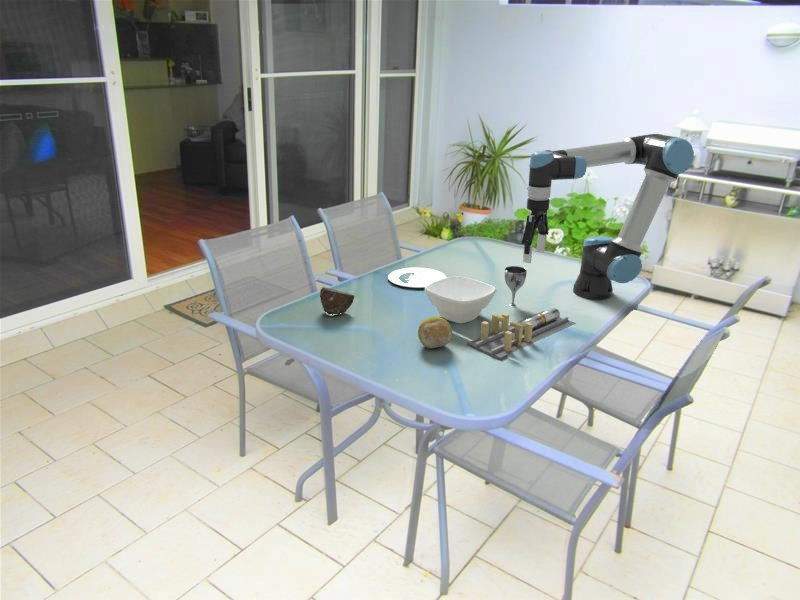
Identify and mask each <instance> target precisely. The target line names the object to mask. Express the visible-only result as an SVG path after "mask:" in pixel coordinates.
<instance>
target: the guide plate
mask: <svg viewBox="0 0 800 600" xmlns="http://www.w3.org/2000/svg"><path fill="white" fill-rule="evenodd" d="M544 312H545V311H544V310H543V311H540V312H538V313H535V314H533V315H531V316H528V317H526V318H523V319H521V320H519V321H516V322H517V323H520V322H522V321H524V320H527V319H529V318H532V317H534V316H536V315H539V314H541V313H544ZM501 316H502V317H505V320H504V321H503V322H500V323H501V324H500V328H499V329H498V334H495V335H493V336H491V332H489V326H490V322H488V321H486V320H485V321H482V322H481V325H480V337H477V338H475V339H473V340H470V341H468V342H467V343H466V344H467V346H469V347H471V348H473V349H475V350H478V351H480V352H482V353H484V354H486V355H488V356H490V357H493V358H495V359H497V360H499V361H502V360H504V359H506V358H509V357H510V354H512V353H514V352H517V351H519V350H521V349H523V348H525V347H528V346H530V345H532V344H534V343H536V342H539V341H540V340H542V339H545V338H548V337H550V336H552V335H553V334H555V333H558V332H560V331H562V330H565V329H566V328H568V327H571V326H572V325H575V324H576V322H574V321H571V320H569V316H565V317H563V318H562V317H559V318H558V319H556V320H554V321H552V322H549V323H547V324H545V325H543V326H540V327H538V328H536V329H533V330H532V328H533V324H532V323H529V322H528V323H525V333H522V343H521V346H519V347H517V346H515V345H514V337H515V327H512V326H510V322H509V321H510V314H509V313H506V312H504V313H502V314H501Z"/></svg>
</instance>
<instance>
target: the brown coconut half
mask: <svg viewBox="0 0 800 600" xmlns="http://www.w3.org/2000/svg"><path fill="white" fill-rule="evenodd" d="M319 298H320V303H321V306H322V308H323V311H325V312H327V313H328V314H332V315H333V314H340V313H342V314H344V313H346V312H347V311H348V309H349V308H350V307H351V306H352V305H353V303H354V299H355V295H354V294H352V293H349V292H347V291H345V292H343V291H341V290H338V289H337V290H336V289H334V288H329V287H325V286H323V287H321V289H320V293H319ZM325 312H324V313H325ZM340 315H341V314H340Z"/></svg>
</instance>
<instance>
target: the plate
mask: <svg viewBox="0 0 800 600" xmlns="http://www.w3.org/2000/svg"><path fill="white" fill-rule="evenodd" d="M406 273H414V275H412V274H411V275H410V276H409V278H408V279H405V280H409V281H407V282H408V283H404V282H402V281H401V280H400V279H399V277H400V276H401V275H403V274H406ZM444 278H448V277H447V276H446V274H445V273H444V272H442V271H439V270H437V269H435V268H428V267H404V268H400V269H396V270H392V271H391V272H390V273H389V274H388V275H387V279H388V280H389V282H390V283H392V284H394V285H396V286H400V287H403V288H409V289H425V287H426V286H427V285H429V284H431V283H433V282H435V281H438V280H441V279H444Z"/></svg>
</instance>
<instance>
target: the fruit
mask: <svg viewBox="0 0 800 600" xmlns="http://www.w3.org/2000/svg"><path fill="white" fill-rule="evenodd" d="M417 330H418V331H417V336H418V339H419V342H420V343H421V344H422V346H424V347H425V348H427V349H435V348H440V347H444V346H446V345H448V344H449V342H450V341H451V339H452V337H453V330H452V327H451V325H450V323H449V322H448V320H447V319H445V318H443V317H441V316H440V317H439V316H430V317H427V318H425V319H424V320H422V321H421V322H420V324H419V326H418V329H417Z"/></svg>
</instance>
